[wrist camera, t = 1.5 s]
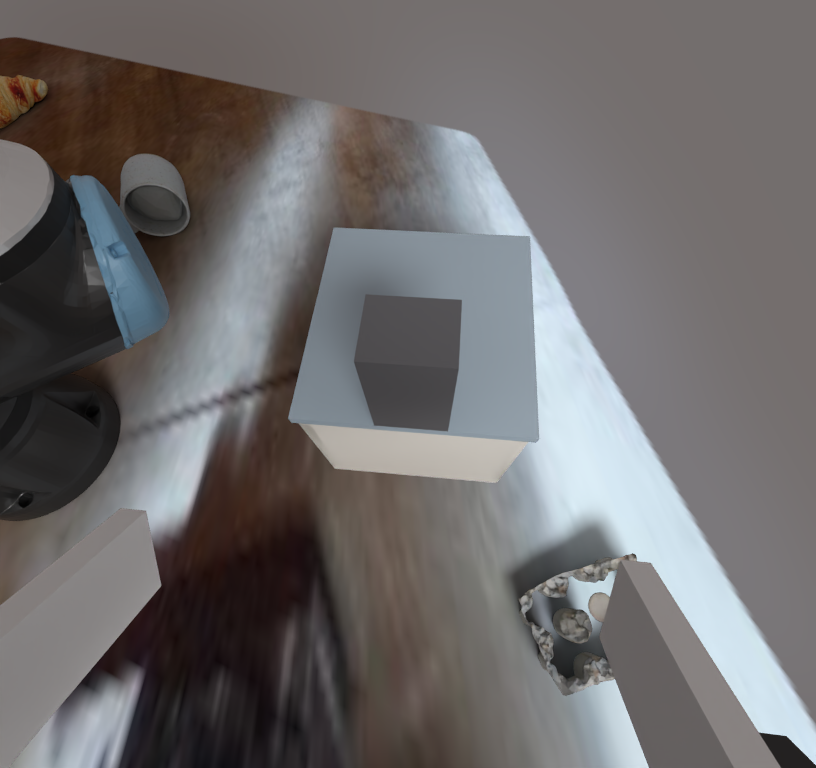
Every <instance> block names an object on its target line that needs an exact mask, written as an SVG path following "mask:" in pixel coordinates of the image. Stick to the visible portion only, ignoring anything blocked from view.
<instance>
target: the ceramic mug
mask: <svg viewBox="0 0 816 768" xmlns="http://www.w3.org/2000/svg"><path fill="white" fill-rule="evenodd" d="M120 203H121V205H120V206H119V208H120V210H121V212H122V213H123V215H124V216H125V218H126V220H127V221H128V223H129V225H130V227H131V228H132V230H133V232H134V233H137V232H138V231H142V232H144V233H146V234H149V235H153V236H171V235H174V234H177V233H179V232H181V231H182V230H184V228H185V227H186V226H187V225H188V223H189V219H190V210H189V205H188V201H187V196H186V193H185V188H184V183H183V180H182V178H181V176H180V174H179V172H178V171H177V169H176V168H175V167H174V166H173V165H172V164H171V163H170V162H168V161H167V160H165V159H164V158H162V157H160V156H157V155H154V154H137V155H134V156H132V157H130V158H129V159H128V160H127V161H126V162H125V164H124V166H123V169H122V172H121V194H120Z"/></svg>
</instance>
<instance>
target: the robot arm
mask: <svg viewBox="0 0 816 768" xmlns="http://www.w3.org/2000/svg"><path fill="white" fill-rule="evenodd" d="M168 318H169V306H168V302H167V299H166V296H165V294H164V291H163V289H162V286H161V284H160V282H159V280H158V278H157V276H156V274H155V271H154V269H153V267H152V265H151V263H150V261H149V259H148V257H147V256H146V254H145V252H144V250H143V248H142V246H141V244H140V242H139V241H138V239H137V237H136V235H135V233H134V232H133V230H132V228H131V227H130V225H129V223H128V221H127V220H126V218H125V216H124V215H123V213H122V212H121V210H120V208H119V207H118V205H117V204H116V202H115V201H114V199H113V198H112V196H111V195H110V194H109V192H108V191H107V190H106V188H105V187H104V186H103V185H102V184H100V182H99V181H98V180H97V179H96V178H94V177H92V176H87V175H85V176H74V175H72V176H70V178H69V179H68V180H67V181H66V182H65V181H64V180H63V179H62V178H61V177H60V176H59V175H58V174H57V173H56V172H55V171H54V170H53V169H52V168H51V167H50V165H49V164H48V163H47V162H46V161H45V160H44V159H43V158H42V157H41V156H40V155H39V154H38V153H37V152H35V151H34V150H32V149H30V148H29V147H26V146H24V145H21V144H18V143H14V142H10V141H6V140H1V139H0V519H1V520H9V521H22V520H29V519H34V518H37V517H41V516H44V515H47V514H49V513H51V512H54V511H56V510H58V509H60V508H61V507H63V506H65V505H66V504H68V503H70V502H71V501H72V500H74V499H75V498H77V497H78V496H79V495H80V494H82V493H83V492H84V491H85V490H86V489H87V488H88V487H89V486H90V485H91V484H92V483H93V482H94V481H95V480H96V479H97V477H98V476H99V475H100V474H101V472H102V471H103V470H104V468H105V466H106V465H107V463H108V462H109V460H110V458H111V456H112V454H113V451H114V449H115V446H116V443H117V440H118V435H119V428H120V420H119V413H118V409H117V406H116V404H115V402H114V400H113V399H112V397H111V396H110V395H109V394H108V393H107V392H106V391H105V390H103V389H102V388H101V387H99V386H97V385H95V384H94V383H92V382H90V381H89V380H87V379H85V378H83V377H80V376H77V375H74V374H71V373H72V372H74V371H77V370H79V369H81V368H83V367H86V366H88V365H90V364H93V363H95V362H97V361H99V360H102V359H104V358H106V357H109V356H111V355H113V354H115V353H118V352H120V351H122V350H125V349H129V348H131V347H133V344H135V343H136V342H138V341H140V340H142V339H144V338H146V337H148V336H150V335H152V334H153V333H155V332H157V331H159V330H160V329H162V327H163V326H164V325H165V324H166V322H167V320H168ZM160 587H161V582H160V577H159V572H158V567H157V562H156V558H155V553H154V548H153V543H152V538H151V533H150V528H149V523H148V518H147V513H146V511H142V510H132V509H123V508H121V509H119V510H118V511H117V512H116V513H114V514H113V515H112V516H111V517H109V518H108V519H107V520H106V521H104V522H103V523H102V524H101V525H100V526H98V527H97V528H96V529H95V530H93V531H92V532H91V533H90V534H88V535H87V536H86V537H85V538H83V539H82V540H81V541H80V542H78V543H77V544H76V545H75V546H73V547H72V548H71V549H70V550H68V551H67V552H66V553H65V554H64V555H62V556H61V557H60V558H59V559H57V560H56V561H55V562H54V563H52V564H51V565H50V566H49V567H47V568H46V569H45V570H44V571H42V572H41V573H40V574H39V575H37V576H36V577H35V578H34V579H32V580H31V581H30V582H29V583H28V584H26V585H25V586H24V587H23V588H21V589H20V590H19V591H18V592H16V593H15V594H14V595H13V596H11V597H10V598H9V599H8V600H6V601H5V602H4V603H3V604H1V605H0V768H8V767H9V766H10V765H11V764H12V763H13V761H14V760H15V759H16V758H17V757H18V755H19V754H20V753H21V752H22V751H23V750H24V748H25V747H26V746H27V745H28V744H29V742H30V741H31V740H32V739H33V738H34V736H35V735H36V734H37V733H38V732H39V731H40V729H41V728H42V727H43V726H44V725H45V723H46V722H47V721H48V720H49V719H50V717H51V716H52V715H53V714H54V713H55V711H56V710H57V709H58V708H59V707H60V706H61V704H62V703H63V702H64V701H65V700H66V698H67V697H68V696H69V695H70V694H71V692H72V691H73V690H74V689H75V688H76V687H77V685H78V684H79V683H80V682H81V681H82V679H83V678H84V677H85V676H86V675H87V673H88V672H89V671H90V670H91V669H92V668H93V666H94V665H95V664H96V663H97V662H98V660H99V659H100V658H101V657H102V656H103V654H104V653H105V652H106V651H107V650H108V648H109V647H110V646H111V645H112V644H113V643H114V641H115V640H116V639H117V638H118V637H119V635H120V634H121V633H122V632H123V631H124V629H125V628H126V627H127V626H128V625H129V624H130V622H131V621H132V620H133V619H134V618H135V616H136V615H137V614H138V613H139V612H140V610H141V609H142V608H143V607H144V606H145V604H146V603H147V602H148V601H149V600H150V599H151V597H152V596H153V595H154V594H155V593H156V591H157V590H158V589H159V588H160ZM599 638H600V641H601V643H602V646H603V649H604V651H605V654H606V656H607V659H608V662H609V664H610V667H611V669H612V672H613V675H614V677H615V680H616V683H617V685H618V688H619V690H620V693H621V696H622V698H623V701H624V703H625V706H626V709H627V711H628V714H629V716H630V719H631V722H632V724H633V727H634V729H635V732H636V735H637V737H638V740H639V742H640V745H641V748H642V750H643V753H644V756H645V758H646V761H647V763H648V766H649V768H816V765H815V764H814V763H813V762H812V761H811V760H810V759H809V758H808V757H807V756H806V755H805V754H804V753H803V752H802V751H801V750H800V749H799V748H798V747H797V746H796V745H795V744H794V743H793V742H792V741H791V740H790V739H789V738H788V737H787V736H781V735H773V734H765V733H759V732H758V731H757V729H756V728H755V726H754V724H753V723H752V721H751V720H750V718H749V717H748V715H747V713H746V712H745V710H744V709H743V707H742V706H741V704H740V702H739V701H738V699H737V698H736V696H735V695H734V693H733V691H732V690H731V688H730V687H729V685H728V684H727V682H726V680H725V679H724V677H723V676H722V674H721V673H720V671H719V669H718V668H717V666H716V665H715V663H714V662H713V660H712V658H711V657H710V655H709V654H708V652H707V651H706V649H705V647H704V646H703V644H702V643H701V641H700V640H699V638H698V636H697V635H696V633H695V632H694V630H693V628H692V627H691V625H690V624H689V622H688V621H687V619H686V617H685V616H684V614H683V613H682V611H681V610H680V608H679V606H678V605H677V603H676V602H675V600H674V599H673V597H672V595H671V594H670V592H669V591H668V589H667V588H666V586H665V584H664V583H663V581H662V580H661V578H660V577H659V575H658V573H657V572H656V570H655V569H654V567H653V566H652V564H651V563H647V562H637V561H627V560H620V563H619V567H618V570H617V574H616V578H615V581H614V585H613V588H612V592H611V596H610V599H609V603H608V607H607V610H606V614H605V617H604V621H603V625H602V628H601V632H600V636H599Z"/></svg>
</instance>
